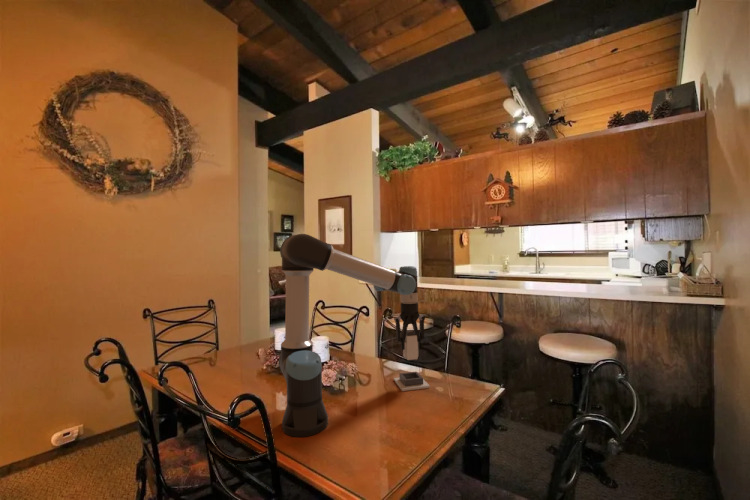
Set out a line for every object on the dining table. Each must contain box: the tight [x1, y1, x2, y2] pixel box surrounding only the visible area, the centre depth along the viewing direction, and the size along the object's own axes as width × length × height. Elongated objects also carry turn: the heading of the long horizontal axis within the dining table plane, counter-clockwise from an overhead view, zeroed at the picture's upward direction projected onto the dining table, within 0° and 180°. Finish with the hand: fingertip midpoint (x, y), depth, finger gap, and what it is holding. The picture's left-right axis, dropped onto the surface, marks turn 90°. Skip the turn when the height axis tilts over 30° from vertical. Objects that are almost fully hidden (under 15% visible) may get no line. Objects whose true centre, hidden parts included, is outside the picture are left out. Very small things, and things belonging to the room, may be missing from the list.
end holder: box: [393, 371, 431, 392], centre depth 145 cm, size 12×12×4 cm
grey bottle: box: [405, 329, 419, 361], centre depth 145 cm, size 4×4×12 cm
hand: (410, 356), depth 145 cm, fingers closed on grey bottle, 4 cm apart
